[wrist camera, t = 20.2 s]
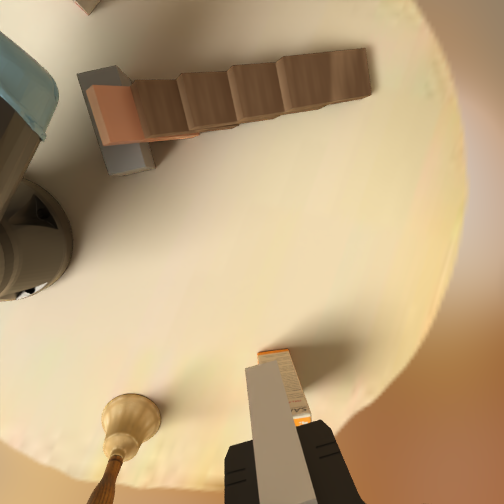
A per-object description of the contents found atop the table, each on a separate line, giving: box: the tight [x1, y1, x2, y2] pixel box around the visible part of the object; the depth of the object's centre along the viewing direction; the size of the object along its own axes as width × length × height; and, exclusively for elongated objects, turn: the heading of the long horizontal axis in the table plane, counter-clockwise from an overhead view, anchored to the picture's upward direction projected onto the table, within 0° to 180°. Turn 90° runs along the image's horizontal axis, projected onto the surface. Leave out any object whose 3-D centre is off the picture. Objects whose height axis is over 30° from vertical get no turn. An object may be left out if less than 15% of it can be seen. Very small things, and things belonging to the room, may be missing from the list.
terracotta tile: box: [86, 85, 200, 146], centre depth 34 cm, size 2×5×11 cm
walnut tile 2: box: [227, 62, 327, 121], centre depth 36 cm, size 2×5×11 cm
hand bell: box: [87, 394, 161, 504], centre depth 39 cm, size 8×8×16 cm
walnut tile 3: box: [176, 71, 280, 130], centre depth 35 cm, size 2×5×11 cm
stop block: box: [77, 65, 156, 176], centre depth 35 cm, size 4×10×5 cm, turn 13°
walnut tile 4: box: [130, 80, 239, 139], centre depth 34 cm, size 2×5×11 cm
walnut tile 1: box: [276, 48, 372, 112], centre depth 36 cm, size 2×5×11 cm
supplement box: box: [257, 349, 312, 426], centre depth 40 cm, size 8×5×13 cm, turn 5°
